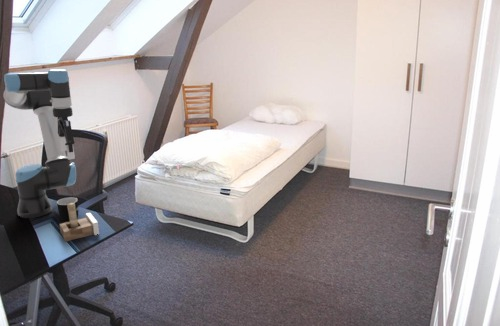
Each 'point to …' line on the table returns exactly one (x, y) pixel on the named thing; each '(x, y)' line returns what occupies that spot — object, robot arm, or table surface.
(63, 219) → the mug
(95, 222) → the rail
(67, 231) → the block
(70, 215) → the dowel
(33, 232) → the table surface
